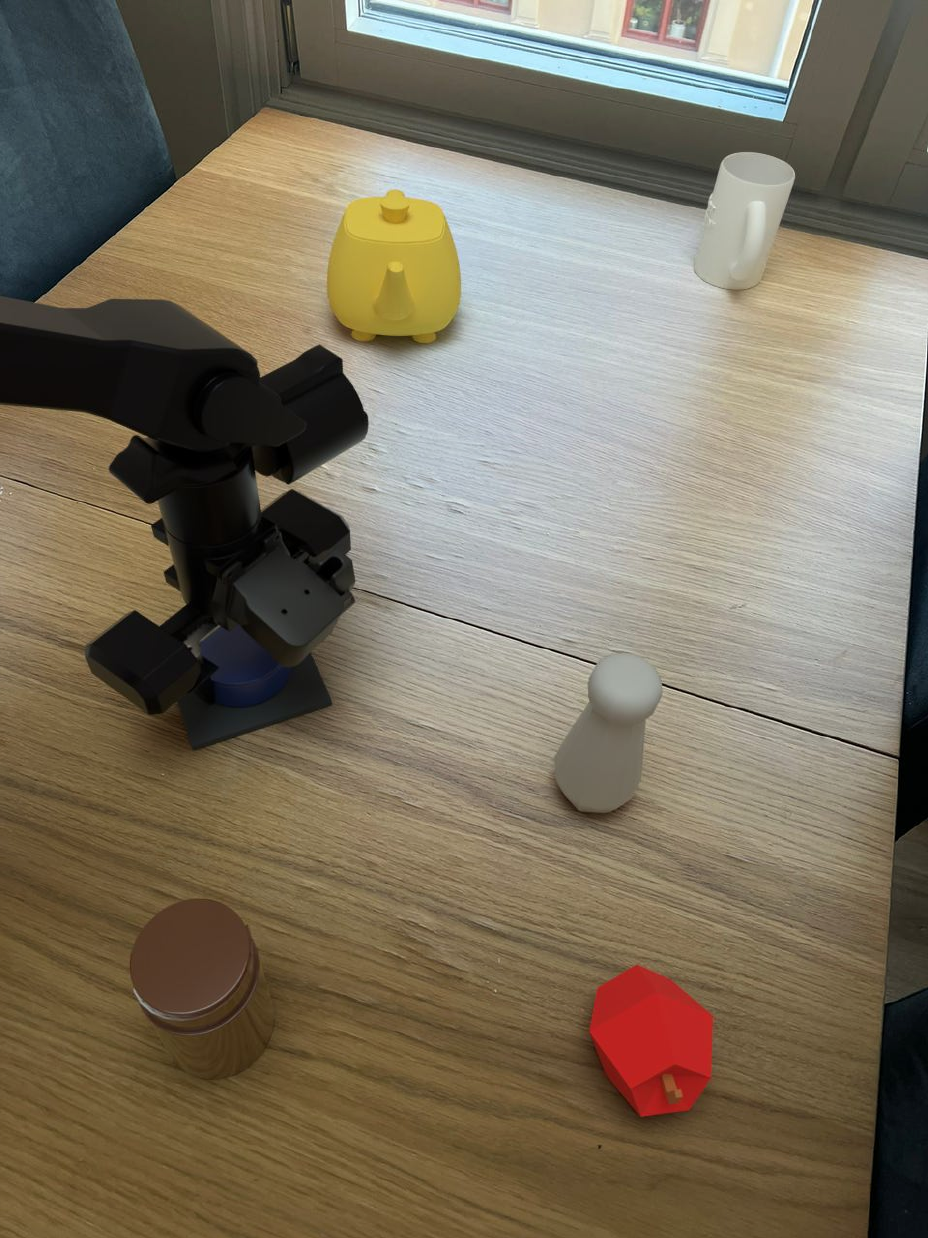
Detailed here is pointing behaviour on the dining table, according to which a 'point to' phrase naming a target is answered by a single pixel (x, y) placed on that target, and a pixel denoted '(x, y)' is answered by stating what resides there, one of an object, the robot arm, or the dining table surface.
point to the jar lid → (242, 668)
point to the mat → (255, 708)
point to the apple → (652, 1041)
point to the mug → (743, 219)
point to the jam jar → (203, 987)
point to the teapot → (394, 268)
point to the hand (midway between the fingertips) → (242, 669)
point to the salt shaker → (609, 735)
